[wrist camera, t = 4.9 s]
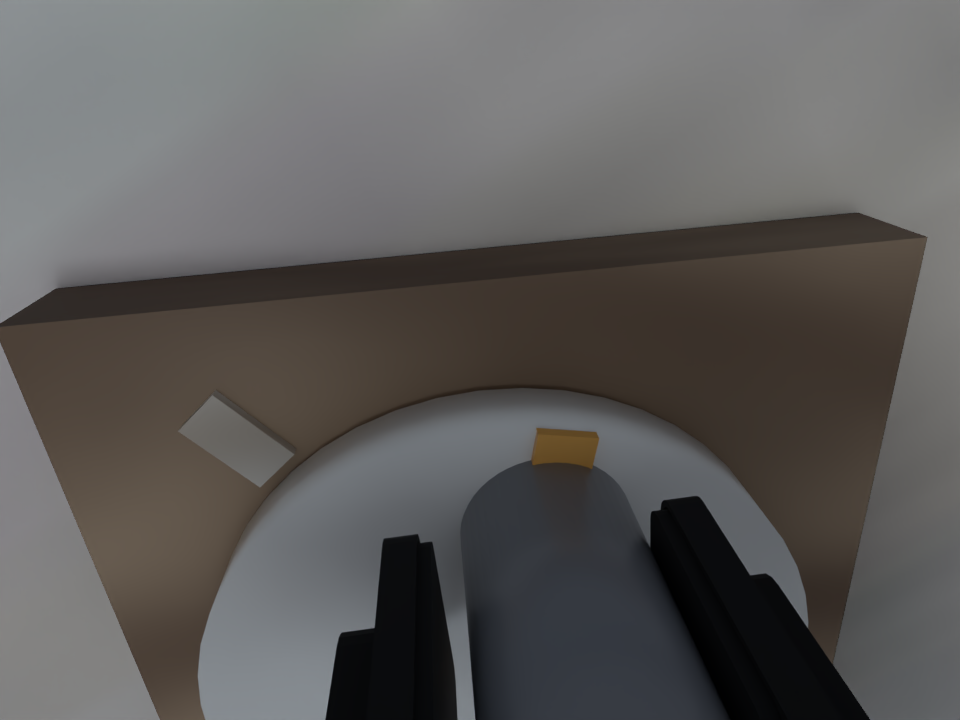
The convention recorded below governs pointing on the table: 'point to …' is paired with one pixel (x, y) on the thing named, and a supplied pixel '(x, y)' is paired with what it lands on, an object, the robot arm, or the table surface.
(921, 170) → the table surface
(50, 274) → the table surface
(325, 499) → the round post pedestal
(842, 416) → the stand base
